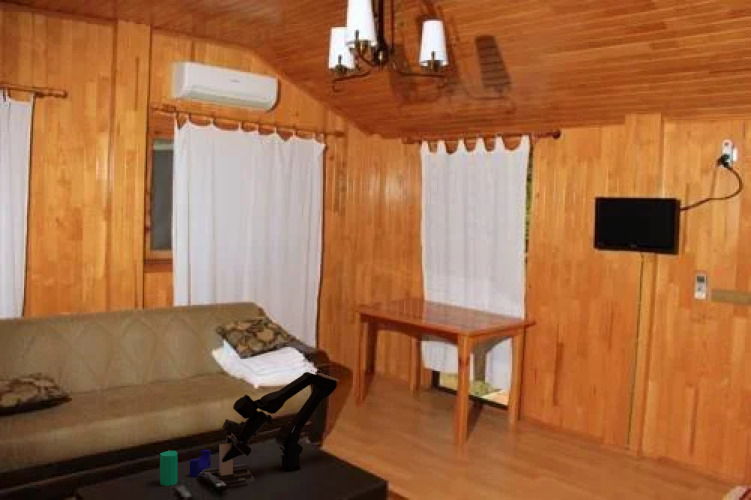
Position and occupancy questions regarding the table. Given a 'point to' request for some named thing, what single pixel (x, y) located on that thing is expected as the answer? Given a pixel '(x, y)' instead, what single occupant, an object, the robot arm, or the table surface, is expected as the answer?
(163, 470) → the candle
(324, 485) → the table surface
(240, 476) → the panel
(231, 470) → the pinkish beige rectangular block
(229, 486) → the cord near
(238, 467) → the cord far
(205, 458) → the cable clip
